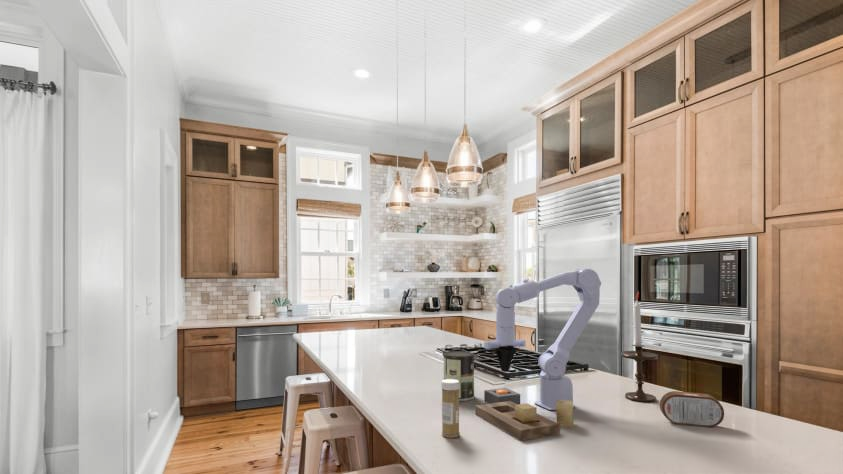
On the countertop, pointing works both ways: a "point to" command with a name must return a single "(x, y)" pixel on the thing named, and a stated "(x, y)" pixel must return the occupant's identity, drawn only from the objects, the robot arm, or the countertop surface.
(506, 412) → the wooden socket board
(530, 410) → the block
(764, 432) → the countertop surface
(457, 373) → the coffee can
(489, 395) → the button housing
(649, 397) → the candlestick
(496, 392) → the button
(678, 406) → the tin
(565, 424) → the loose billet
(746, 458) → the countertop surface
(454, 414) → the sprinkles bottle
